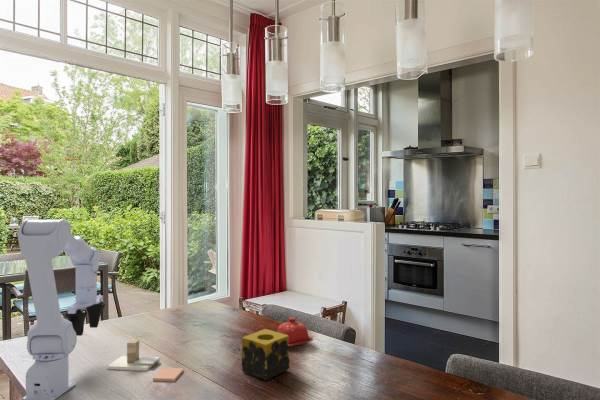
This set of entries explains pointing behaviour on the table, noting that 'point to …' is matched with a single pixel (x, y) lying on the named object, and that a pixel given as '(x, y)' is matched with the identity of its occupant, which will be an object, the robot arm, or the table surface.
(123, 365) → the trivet
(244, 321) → the table surface
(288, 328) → the butter dish
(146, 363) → the grey plate tan block
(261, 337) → the candle
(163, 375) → the tile
